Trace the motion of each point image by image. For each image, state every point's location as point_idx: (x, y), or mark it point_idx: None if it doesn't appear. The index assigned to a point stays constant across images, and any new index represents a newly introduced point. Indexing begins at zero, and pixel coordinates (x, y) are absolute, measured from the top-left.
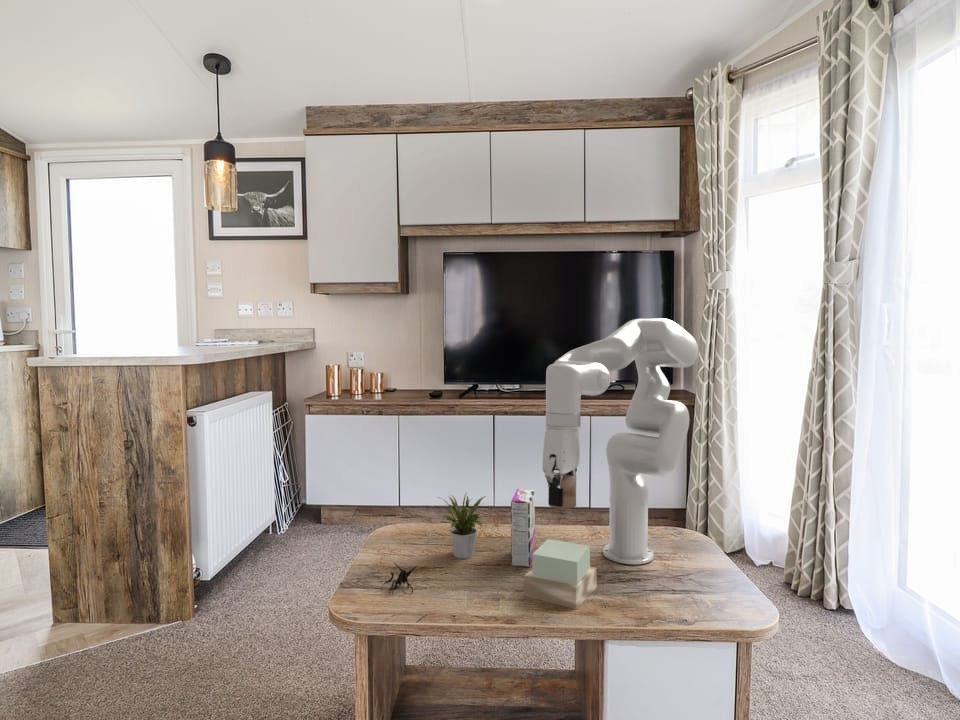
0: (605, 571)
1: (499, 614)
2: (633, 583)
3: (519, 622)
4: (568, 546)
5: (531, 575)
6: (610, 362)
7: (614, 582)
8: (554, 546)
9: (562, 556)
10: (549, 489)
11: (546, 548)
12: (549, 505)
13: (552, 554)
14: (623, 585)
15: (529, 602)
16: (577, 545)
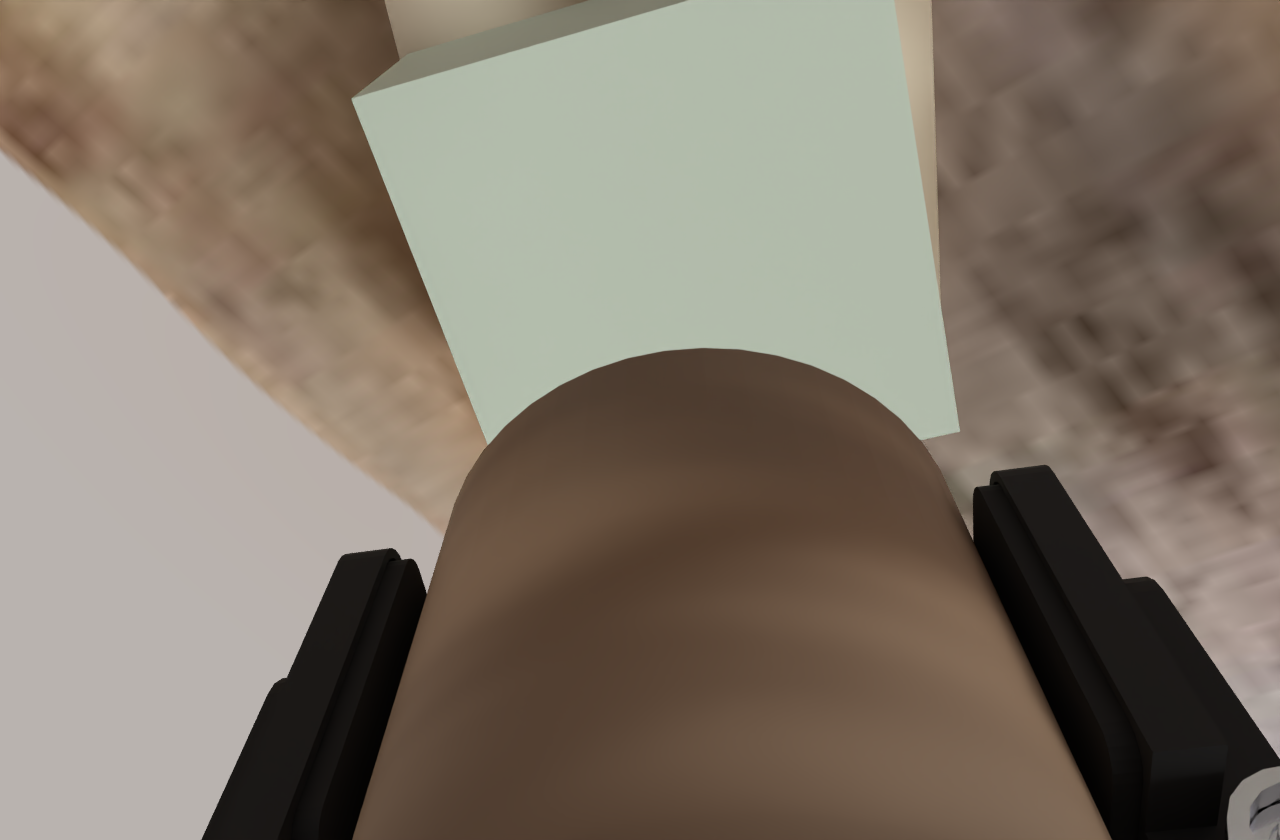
0: (1236, 225)
1: (38, 6)
2: (1118, 466)
3: (89, 192)
4: (812, 279)
5: (420, 31)
6: None
7: (1064, 367)
8: (713, 161)
9: (533, 372)
10: (244, 807)
11: (598, 126)
12: (478, 459)
13: (503, 272)
14: (1048, 432)
15: (355, 66)
16: (897, 334)
